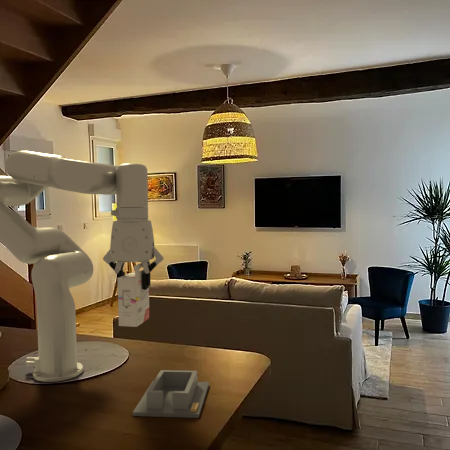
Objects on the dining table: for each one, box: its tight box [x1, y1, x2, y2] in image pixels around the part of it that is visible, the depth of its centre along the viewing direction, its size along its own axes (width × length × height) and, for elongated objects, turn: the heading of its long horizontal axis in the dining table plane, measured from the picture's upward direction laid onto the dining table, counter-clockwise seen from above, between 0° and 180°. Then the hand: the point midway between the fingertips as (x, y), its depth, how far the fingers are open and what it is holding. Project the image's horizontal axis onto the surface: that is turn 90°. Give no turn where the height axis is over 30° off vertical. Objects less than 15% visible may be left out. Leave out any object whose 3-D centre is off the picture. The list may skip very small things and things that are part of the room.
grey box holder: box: [132, 369, 210, 419], centre depth 103 cm, size 14×17×4 cm
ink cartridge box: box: [116, 262, 150, 328], centre depth 111 cm, size 9×5×15 cm, turn 168°
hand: (133, 288), depth 111 cm, fingers closed on ink cartridge box, 5 cm apart
